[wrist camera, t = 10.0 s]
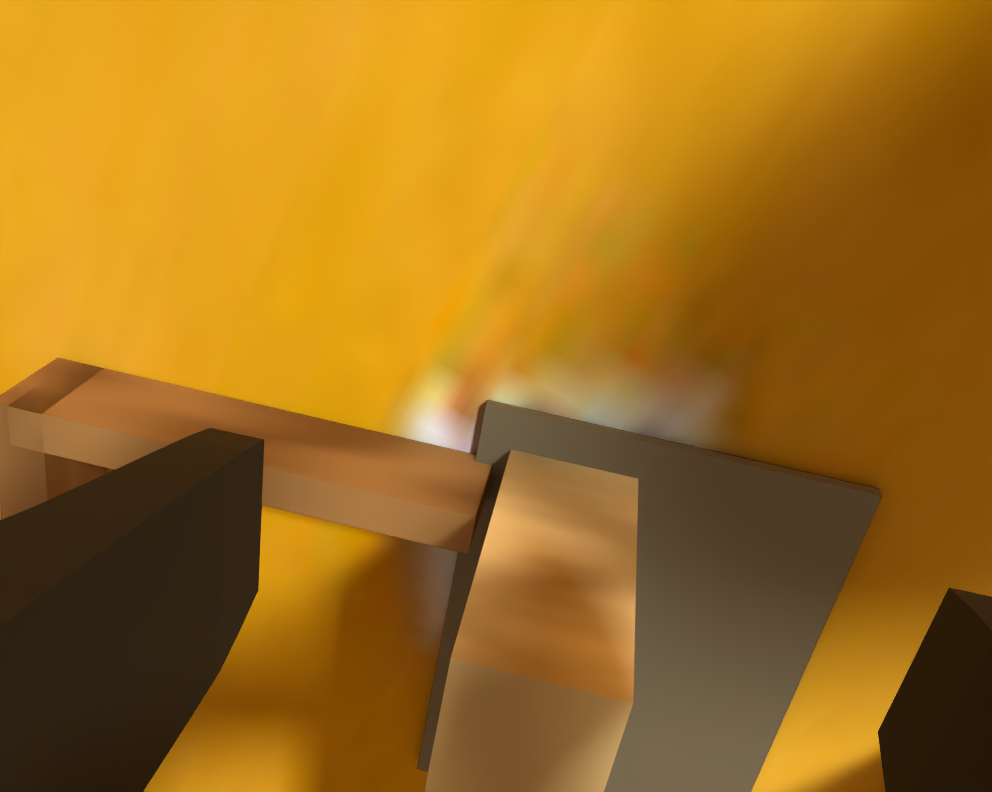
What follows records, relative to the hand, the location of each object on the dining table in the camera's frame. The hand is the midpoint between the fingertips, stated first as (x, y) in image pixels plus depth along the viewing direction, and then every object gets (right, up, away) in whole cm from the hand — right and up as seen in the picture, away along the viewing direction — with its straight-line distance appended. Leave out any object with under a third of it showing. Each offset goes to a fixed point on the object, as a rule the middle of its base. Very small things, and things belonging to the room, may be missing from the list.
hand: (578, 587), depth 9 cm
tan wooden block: (0, -4, +13) cm, 14 cm away
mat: (+2, -4, +13) cm, 14 cm away
